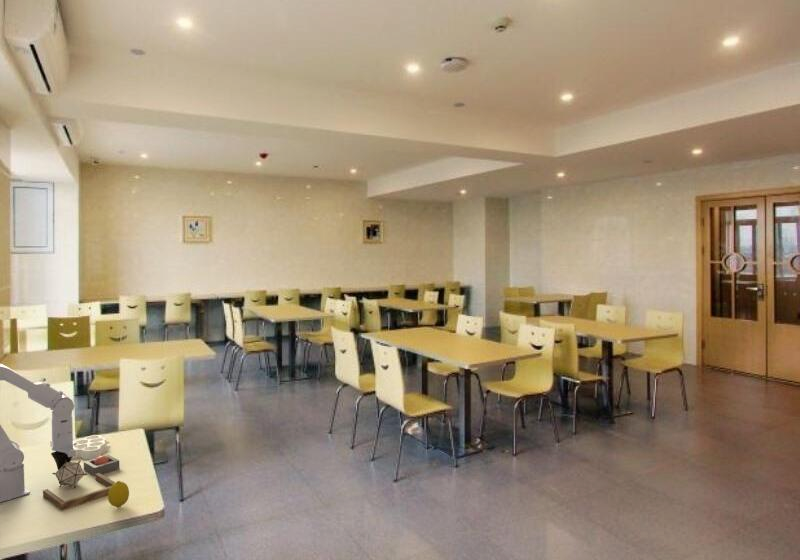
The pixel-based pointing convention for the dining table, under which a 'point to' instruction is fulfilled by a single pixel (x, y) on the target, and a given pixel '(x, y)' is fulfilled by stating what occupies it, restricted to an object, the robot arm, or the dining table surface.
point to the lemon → (118, 494)
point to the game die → (69, 474)
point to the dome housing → (101, 466)
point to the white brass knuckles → (90, 447)
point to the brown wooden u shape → (81, 499)
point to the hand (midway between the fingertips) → (63, 472)
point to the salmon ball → (101, 460)
